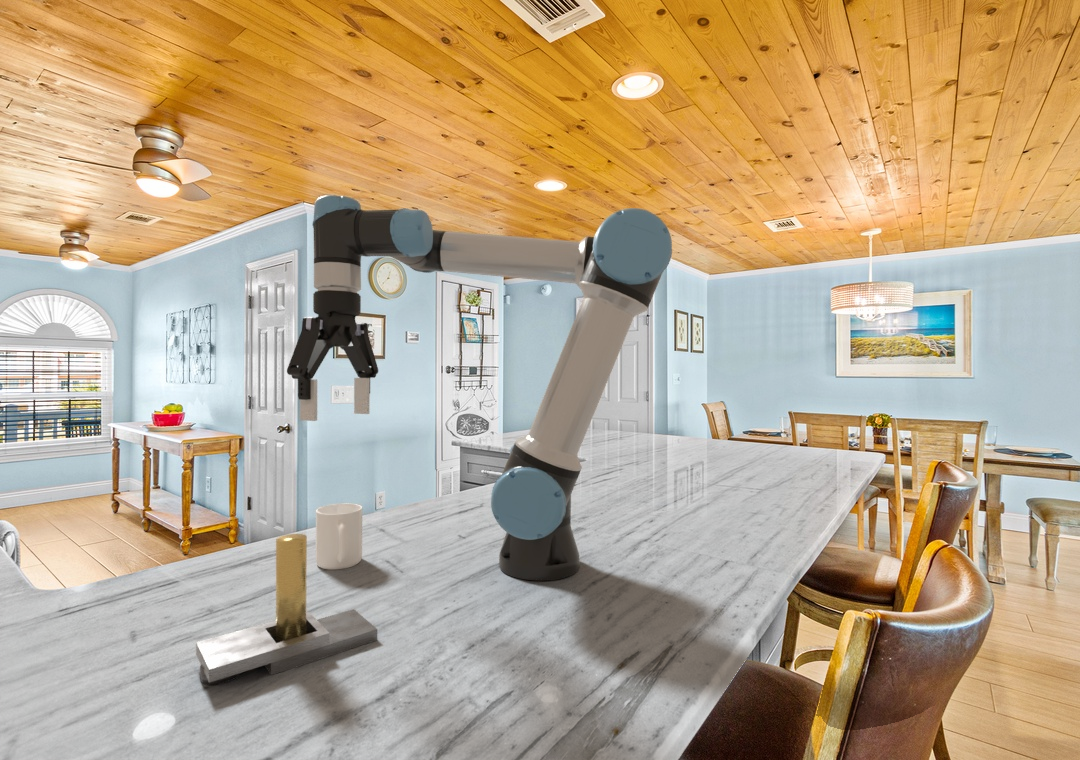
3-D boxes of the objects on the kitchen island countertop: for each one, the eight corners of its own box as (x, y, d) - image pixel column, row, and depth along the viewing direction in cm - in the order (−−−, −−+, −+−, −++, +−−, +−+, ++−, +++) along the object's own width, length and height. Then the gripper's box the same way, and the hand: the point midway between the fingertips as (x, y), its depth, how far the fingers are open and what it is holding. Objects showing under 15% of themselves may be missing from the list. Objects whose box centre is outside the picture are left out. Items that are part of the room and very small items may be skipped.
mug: (367, 573, 99) (367, 516, 99) (317, 580, 96) (318, 521, 95) (359, 552, 110) (359, 501, 110) (314, 558, 106) (314, 505, 106)
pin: (312, 648, 73) (312, 535, 72) (291, 661, 69) (292, 543, 69) (290, 643, 74) (290, 532, 74) (269, 656, 71) (269, 540, 70)
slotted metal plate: (353, 619, 81) (353, 599, 81) (377, 639, 75) (377, 618, 75) (194, 666, 68) (194, 642, 68) (207, 696, 62) (207, 670, 62)
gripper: (363, 300, 106) (363, 410, 107) (261, 281, 82) (261, 422, 83) (397, 299, 104) (397, 412, 104) (302, 279, 80) (301, 424, 81)
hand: (337, 417), depth 94 cm, fingers open, 13 cm apart
